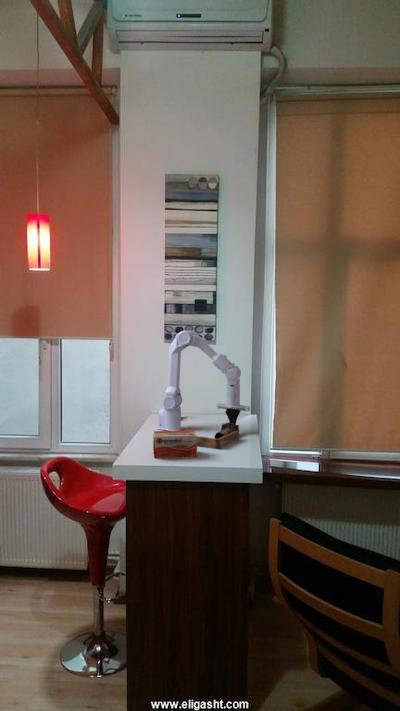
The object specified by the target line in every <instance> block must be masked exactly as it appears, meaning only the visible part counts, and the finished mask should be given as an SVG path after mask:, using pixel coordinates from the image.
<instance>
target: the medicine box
mask: <svg viewBox="0 0 400 711" xmlns="http://www.w3.org/2000/svg"><path fill="white" fill-rule="evenodd" d="M197 436H198V435H197V433H196V431H195V430H194V429H187V430H184V429H181V430H178V431H168V430H154V431H153V436H152V446H153V447H152V448H153V459H171V458H172V459H173V458H174V459H175V458H176V459H177V458H182V457H183V458H196V457H197V455H198V454H197V453H198V446H197Z"/></svg>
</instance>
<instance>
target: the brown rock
mask: <svg viewBox="0 0 400 711" xmlns="http://www.w3.org/2000/svg"><path fill="white" fill-rule="evenodd" d="M239 427H240V426H239V424H237V423H236V424H234V423H231V422H226V423H222V424H221V427H220V430H219V431H217V432H216V433H215V434H214V438H215V439H218V438H221V437H223V436H225V435H227V434H230V433H232V432H234V431H239V432H240V428H239Z"/></svg>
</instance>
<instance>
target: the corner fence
mask: <svg viewBox="0 0 400 711" xmlns="http://www.w3.org/2000/svg"><path fill="white" fill-rule="evenodd" d="M239 435H240V430H239V431H234V432H232V433H230V434H227V435H225V436H223V437H221V438H218V439H215V437H214V438H213V437H205V436H200V435H199V436H198V435H197V447H202V448H206V449H207V448H209V449H214V450H220V449H223V448H225V447H226V446H228V445H229V446H230V445H231V444H232V443H235V442H237V441H239V439H240V436H239Z"/></svg>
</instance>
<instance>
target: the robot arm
mask: <svg viewBox="0 0 400 711" xmlns="http://www.w3.org/2000/svg"><path fill="white" fill-rule="evenodd" d="M189 346H190V347H195V348H198V349H200V351H202V353H205V355H207V356H208V357H209V358H210V359H211V360H212V365H213V366H214V367H216V369H218V370H219V372H221V373H222V374H224V376H225V379H226V390H225V392H226V395H225V396H226V398H225V399H226V402H225V403H217V404H216V409H217V410H218V409H219V410H221V409H222V410H225V415H226V416H227V419H228V421H229V422H228V423H230V422H231V423H234V424H236V425H237V422H238V418H239V415H240V413H241V412H243V411H244V412H250V411H251V409H250V408H251V407H250V405H244V404H243V405H242V404H241V379H240V378H241V375H242V371H241V369H240V367H239V366H238V365H236V364H235V363H234V362H231V360H229V359H228V358H227V355H226V354H223V353H217V352H216V351H215V350H214V349H213V348H212V347H211V345H210V344H208V342H207V341H205V340H204V339H203V337H201V336H200V335H198V334H196V332H195V331H194V330H181V331H180V332H178V333H177V334H176V335H175V337H174V339H173V340H172V342H171V344H170V345H169V348H168V364H167V366H168V368H167V387H166V390H165V392H164V397H163V399H162V405H163V408H160V410H159V411H158V415H157V418H158V424H157V426H158V428H157V430H159V431H181V430H184V429H185V427H184V426H182V423H181V422H182V420H181V419H182V409H181V405H182V403H183V398H182V397H183V396H182V395H181V394H182V393H181V392H182V391H181V389H180V382H181V381H180V377H181V358H182V354H181V353H182V352H183V351H184V350H185V349H186V348H187V347H189Z"/></svg>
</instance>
